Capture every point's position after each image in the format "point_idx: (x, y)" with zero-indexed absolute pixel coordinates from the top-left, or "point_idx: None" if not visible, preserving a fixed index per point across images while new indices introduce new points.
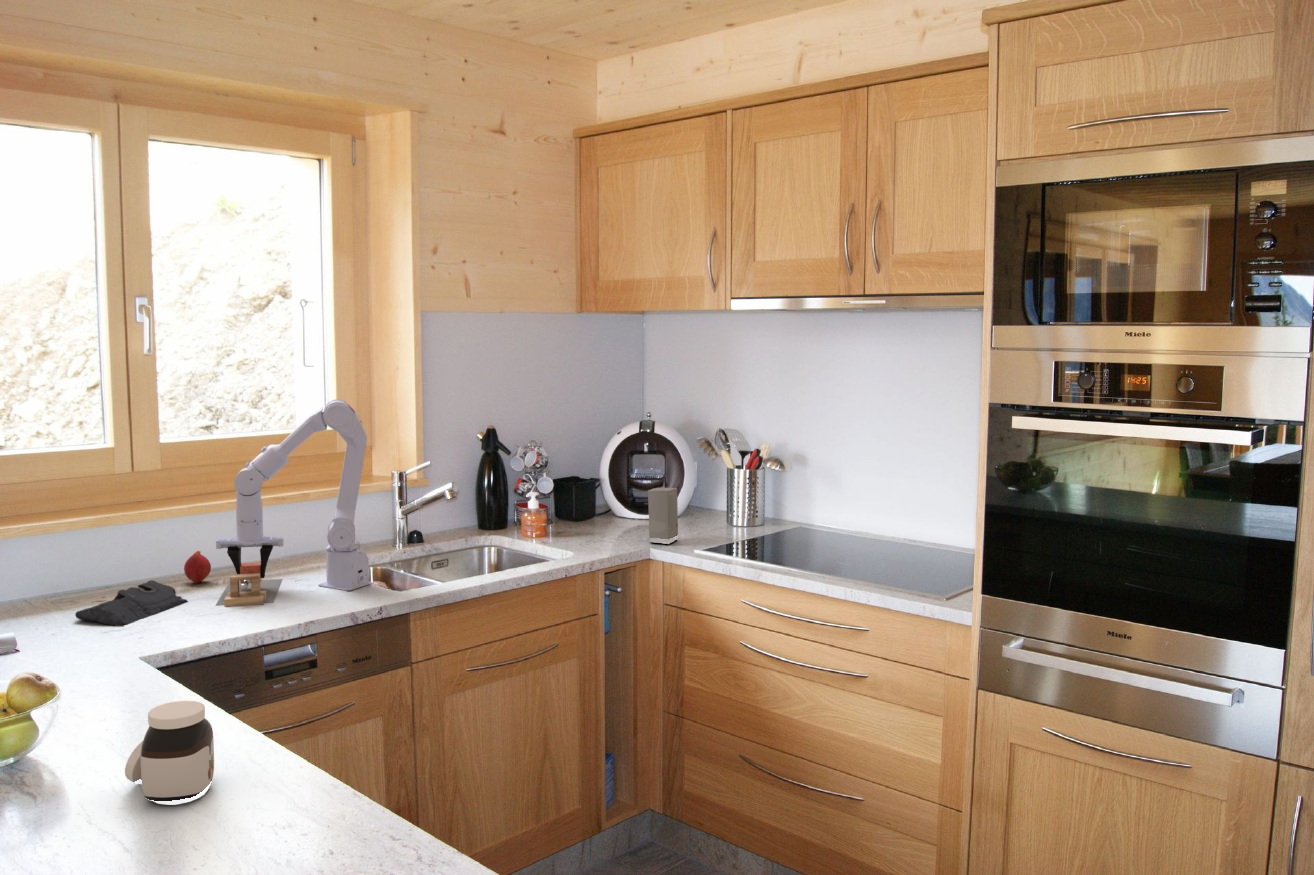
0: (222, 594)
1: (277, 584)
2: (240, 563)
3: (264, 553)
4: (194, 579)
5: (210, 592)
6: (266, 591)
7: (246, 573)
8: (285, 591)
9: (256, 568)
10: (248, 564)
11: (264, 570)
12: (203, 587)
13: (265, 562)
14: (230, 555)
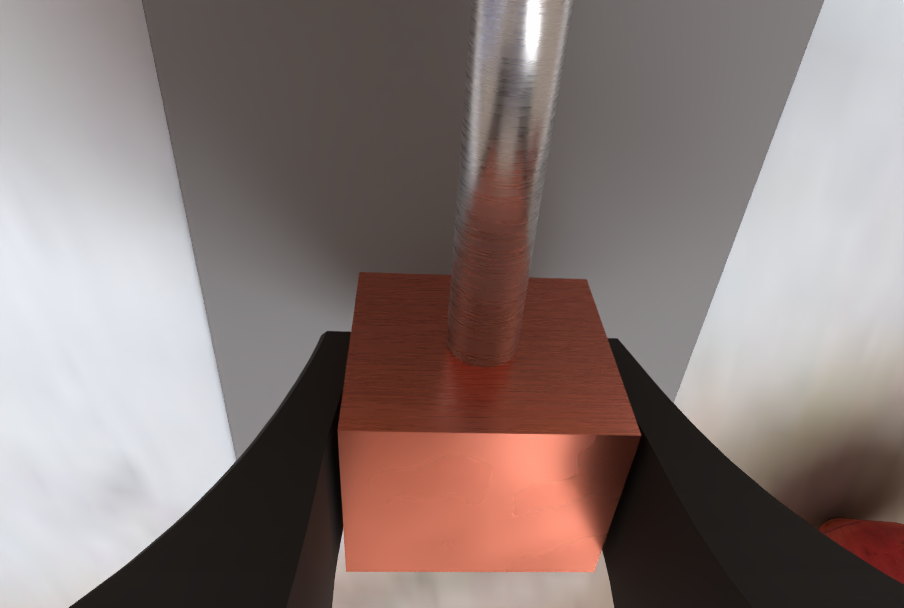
0: (757, 164)
1: (249, 396)
2: (617, 544)
3: (189, 605)
4: (900, 525)
5: (826, 295)
6: (301, 180)
7: (532, 354)
8: (100, 174)
9: (396, 397)
10: (515, 501)
11: (294, 388)
12: (830, 438)
13: (245, 471)
14: (890, 595)
